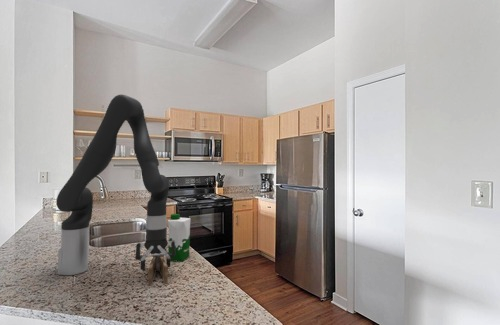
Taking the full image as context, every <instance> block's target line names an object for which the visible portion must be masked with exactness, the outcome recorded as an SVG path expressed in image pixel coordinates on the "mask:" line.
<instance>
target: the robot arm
mask: <svg viewBox="0 0 500 325" xmlns="http://www.w3.org/2000/svg"><path fill="white" fill-rule="evenodd" d="M125 122H126V123H128V125H129V127H130V129H131V132H132V135H133V150H134V154H135V158H136V159H137V162H138V165H139V167H140V171H141V176H142V177H141V178H142V182H143V186H144V187H145V190H146V191H147V192H148V193H150V199H149V200H148V201H147V205H146V220H145V221H146V222H145V242H141V241H138V242H137V244H136V248H135V257H134V259H135V260H136V261H140V270H142V271H143V272H145V270H146V258H147V257H148V255H149V254H151V255H152V254H155V253H156V254H160V253H163V255H164V257H165V258H166V260H165V262H166V264H167V266H168V268H170V267H171V261H170V259H171V258H172V257H175V241H174V240H172V241H169V240H167V238H168V237H167V236H168V235H167V234H168V232H167V229H168V219H167V201H168V196H169V190H170V182H169V179H168V178H167V177H166V176H165V175H163V174H160V170H159V165H160V162H159V159H158V156H157V153H156V151H155V148H154V147H153V143H152V140H151V138H150V134H149V130H148V127H147V122H146V117H145V112H144V109H143V106H142V104H141V102H140V101H139V100H137V99H136V98H133V97H131V96H128V95H125V94H117V95H116V96H114V97H113V98H112V99H111V100H110V102H109V104H108V107H107V108H106V111H105V113H104V116H103V118H102V120H101V123H100V125H99V127H98V128H97V130H96V132H95V134H94V136H93V138H92V139H91V141H90V143H89V144H88V146H87V148H86V150H85V151H84V153H83V155H82V158H81V159H80V161H79V163H78V164H77V166H76V167H75V169H74V171H73V172H72V174H71V175H70V177H69V178H68V180H67V181H66V183H65V184H64V185H63V187H62V188H61V190H60V191H59V193H58V194H57V197H56V206H57V209H58V210H59V211H61V212H64V213H68V212H69V213H70V212H71V213H70V215H69V216H68V217H67V218H66V219H64V220H63V221H62V222H61V226H60V227H61V232H60V235H61V236H60V248H59V249H58V251H57V252H58V253H57V254H58V258H57V275H60V276H73V275H78V274H82V273H85V272H87V271H88V270H89V256H90V255H89V254H90V253H89V252H90V251H89V250H90V249H89V248H90V246H89V245H90V222H91V220H92V216H93V204H94V198H93V197H94V196H93V192H92V191H91V190H90V188H87V186H88V185H89V184H90V182H92V180H94V179H95V178H96V177H98V176H99V175H100V174H101V173H102V172H103V171H104V170H106V169H107V168H108V166H109V164H110V163H111V161H112V159H113V158H114V156H115V154H116V150H117V140H118V139H117V138H118V134H119V131H120V130H121V128H122V126H123V125H124V123H125ZM167 246H168V247H169V246H170V247H172V253H171V254H169V252H168V249H167ZM143 248H145V250H146V251H145V252H144V253H143V255H141V250H142V249H143Z"/></svg>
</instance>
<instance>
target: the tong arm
mask: <svg viewBox="0 0 500 325" xmlns="http://www.w3.org/2000/svg"><path fill="white" fill-rule="evenodd" d="M155 257H156V271H158V272H160V275H161V278H162V280H163V283H164V284H167V283H169V279H168V278H169V267H168V266H167V264H166V260H165V257H164V258H163V256H155Z"/></svg>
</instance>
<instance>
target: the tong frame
mask: <svg viewBox="0 0 500 325" xmlns="http://www.w3.org/2000/svg"><path fill="white" fill-rule="evenodd" d="M155 256H163V258H164V259H165V255H163V253H160V254H156V253H155V254H151V257H152V259H151V262H150V264H149V267H148V271H147V274H148V276H147V279H148V280H147V283H148V284H147V286H148V287H152V285H153V282H154V279H155V275H156V271H157V270H156V257H155Z"/></svg>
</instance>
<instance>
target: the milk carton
mask: <svg viewBox="0 0 500 325" xmlns="http://www.w3.org/2000/svg"><path fill="white" fill-rule="evenodd" d="M167 228H168V241H172V240H174V241H175V257H172V258H171V259H170V262H171V261H172V262H180V263H181V262H182V263H183V262H184V261H185V260H187V259H188V258H189V257H190V247H191V245H190V244H191V243H190V242H191V241H190V239H191V237H190V236H191V218H190V217H189V218H188V217H181V215H180V213H172V214H170V219H167ZM167 251H168V252H169V254H171V253H172V247H170V246H169V245H168V249H167Z"/></svg>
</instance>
